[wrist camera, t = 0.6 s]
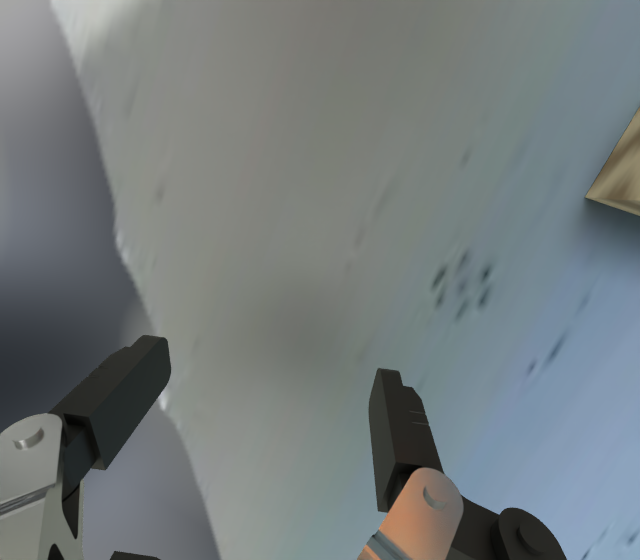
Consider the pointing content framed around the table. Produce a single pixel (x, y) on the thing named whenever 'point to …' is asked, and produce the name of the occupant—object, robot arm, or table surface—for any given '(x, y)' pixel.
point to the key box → (621, 173)
